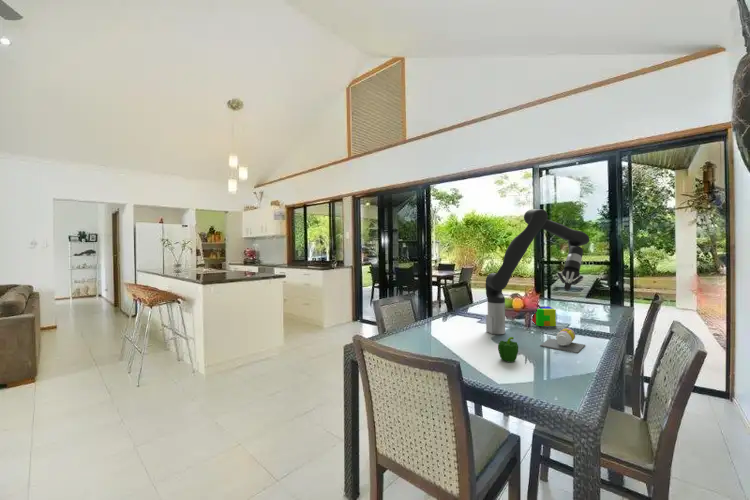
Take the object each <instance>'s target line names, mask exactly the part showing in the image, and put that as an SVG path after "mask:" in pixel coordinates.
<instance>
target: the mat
mask: <svg viewBox="0 0 750 500" xmlns="http://www.w3.org/2000/svg"><path fill="white" fill-rule="evenodd" d="M539 346H540V347H541V348H548V349H553V350H557V351H564V352H567V353H573V354H579V353H580V352H581V351H582V350H583V349H584V348H585V347H586V344H583V343H579V342H578V343H577V342H573V341H572V342H571V343H570V344H569V345H567V346H563V345H559V344H558V343H557V340H556V338H555V339H554V338H548V339H547V340H545V341H544V342H542V343H541V344H540V345H539Z"/></svg>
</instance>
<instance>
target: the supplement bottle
mask: <svg viewBox="0 0 750 500" xmlns="http://www.w3.org/2000/svg"><path fill="white" fill-rule="evenodd" d="M555 339H556V340H557V343H558V344H559V345H563V346H567V345H569V344H570V343H571V342H573V341H574V340H575V339H576V333H575V331H574V330H573V329H571V328H568V327H564V328H562V329H561V330H560V331H558V332H557V334H556V336H555Z"/></svg>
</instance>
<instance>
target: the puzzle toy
mask: <svg viewBox="0 0 750 500" xmlns="http://www.w3.org/2000/svg"><path fill="white" fill-rule="evenodd" d="M539 308H540V309H537V312H536V313H535V314H534V315H533V316H532V315H531V322H532V321H533V322H534V323H535V324H536V325H535V324H534V323H533V324H534V325H535V326H537V325H538V326H556V327H557V313H556V312H557V310H556V309H555V308H553V307H551V306H543V305H539ZM538 326H537V327H538Z"/></svg>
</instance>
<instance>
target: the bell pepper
mask: <svg viewBox="0 0 750 500" xmlns="http://www.w3.org/2000/svg"><path fill="white" fill-rule="evenodd" d="M512 340H514V337H513V336H510V337H508V338H507V340H506V341H505V340H499V342H498V344H497V350H498V354H499V357H500V359H501V360H502V361H505V362H508V363H514V362H515V361H516V360H517V357H518V354H519V344H518V342H517V341H512Z"/></svg>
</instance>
